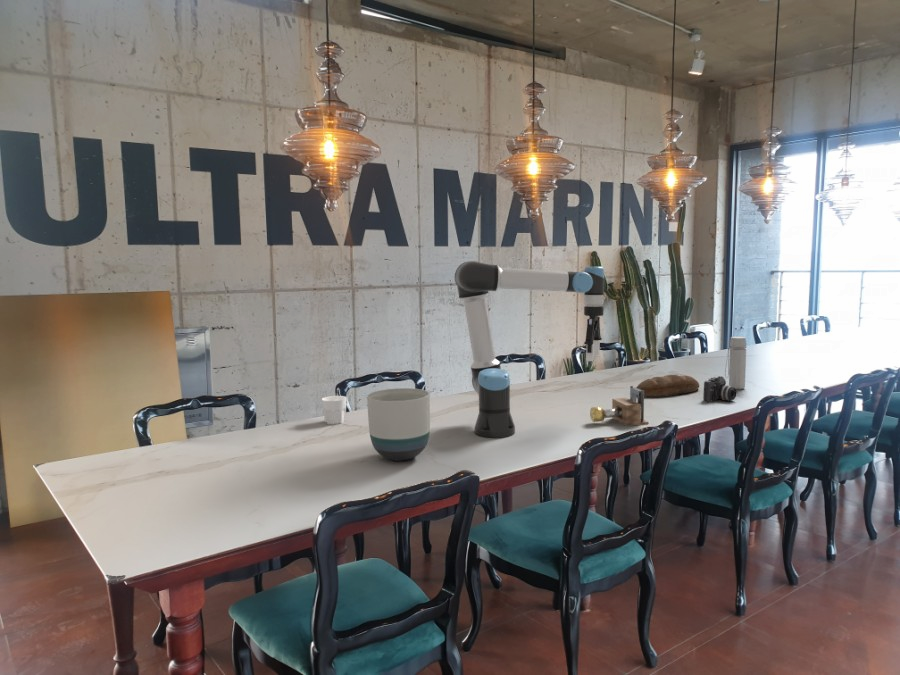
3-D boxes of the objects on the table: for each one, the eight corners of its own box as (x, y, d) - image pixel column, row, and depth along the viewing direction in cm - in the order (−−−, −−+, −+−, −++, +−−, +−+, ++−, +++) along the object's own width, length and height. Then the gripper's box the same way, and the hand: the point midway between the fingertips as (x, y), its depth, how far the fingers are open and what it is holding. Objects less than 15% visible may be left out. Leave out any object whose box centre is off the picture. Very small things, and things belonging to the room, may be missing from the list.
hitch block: (626, 425, 233) (626, 392, 232) (612, 418, 245) (612, 386, 243) (648, 423, 235) (648, 391, 233) (633, 416, 247) (633, 385, 245)
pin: (596, 423, 234) (596, 409, 234) (590, 419, 240) (590, 406, 239) (626, 421, 237) (626, 407, 236) (619, 417, 242) (619, 403, 241)
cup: (318, 424, 248) (317, 400, 247) (331, 418, 257) (330, 395, 256) (339, 425, 244) (338, 401, 243) (351, 419, 254) (350, 396, 252)
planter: (380, 471, 188) (377, 404, 185) (362, 453, 206) (359, 392, 204) (440, 461, 196) (439, 396, 193) (418, 445, 214) (416, 386, 212)
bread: (708, 391, 292) (708, 374, 291) (650, 400, 276) (650, 382, 275) (682, 386, 306) (683, 369, 305) (626, 394, 290) (627, 377, 289)
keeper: (638, 407, 236) (638, 391, 236) (630, 403, 243) (630, 387, 242) (643, 406, 237) (643, 390, 236) (635, 403, 243) (635, 387, 243)
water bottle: (746, 387, 297) (747, 336, 294) (744, 390, 291) (745, 338, 288) (725, 385, 302) (727, 336, 299) (723, 388, 296) (724, 337, 293)
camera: (724, 404, 263) (725, 382, 262) (700, 401, 272) (701, 379, 270) (739, 399, 272) (740, 377, 271) (716, 396, 281) (716, 374, 279)
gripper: (597, 307, 228) (596, 363, 230) (608, 303, 250) (607, 354, 253) (577, 307, 231) (577, 362, 233) (590, 303, 253) (589, 353, 256)
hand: (592, 358), depth 243 cm, fingers open, 13 cm apart
